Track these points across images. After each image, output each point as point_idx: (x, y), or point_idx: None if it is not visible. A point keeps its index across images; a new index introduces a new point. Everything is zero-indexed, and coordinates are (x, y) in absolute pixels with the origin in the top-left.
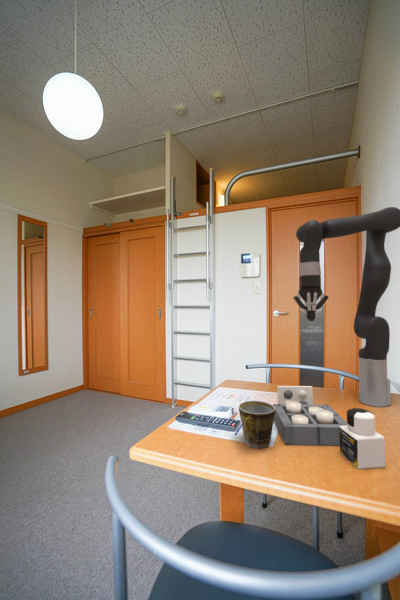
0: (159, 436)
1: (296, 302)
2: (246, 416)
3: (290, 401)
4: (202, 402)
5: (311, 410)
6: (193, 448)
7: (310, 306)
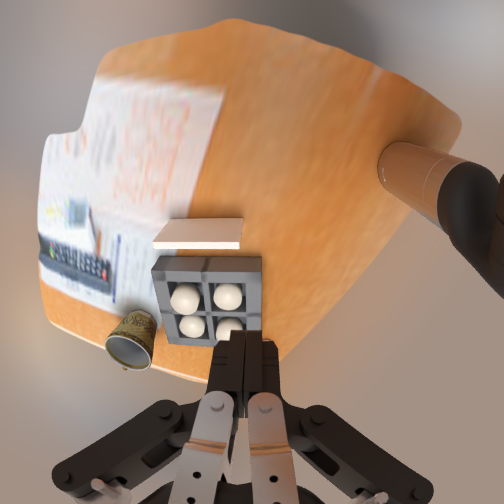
0: (47, 301)
1: (95, 446)
2: (121, 359)
3: (179, 294)
4: (43, 187)
5: (216, 304)
6: (85, 325)
7: (231, 452)
